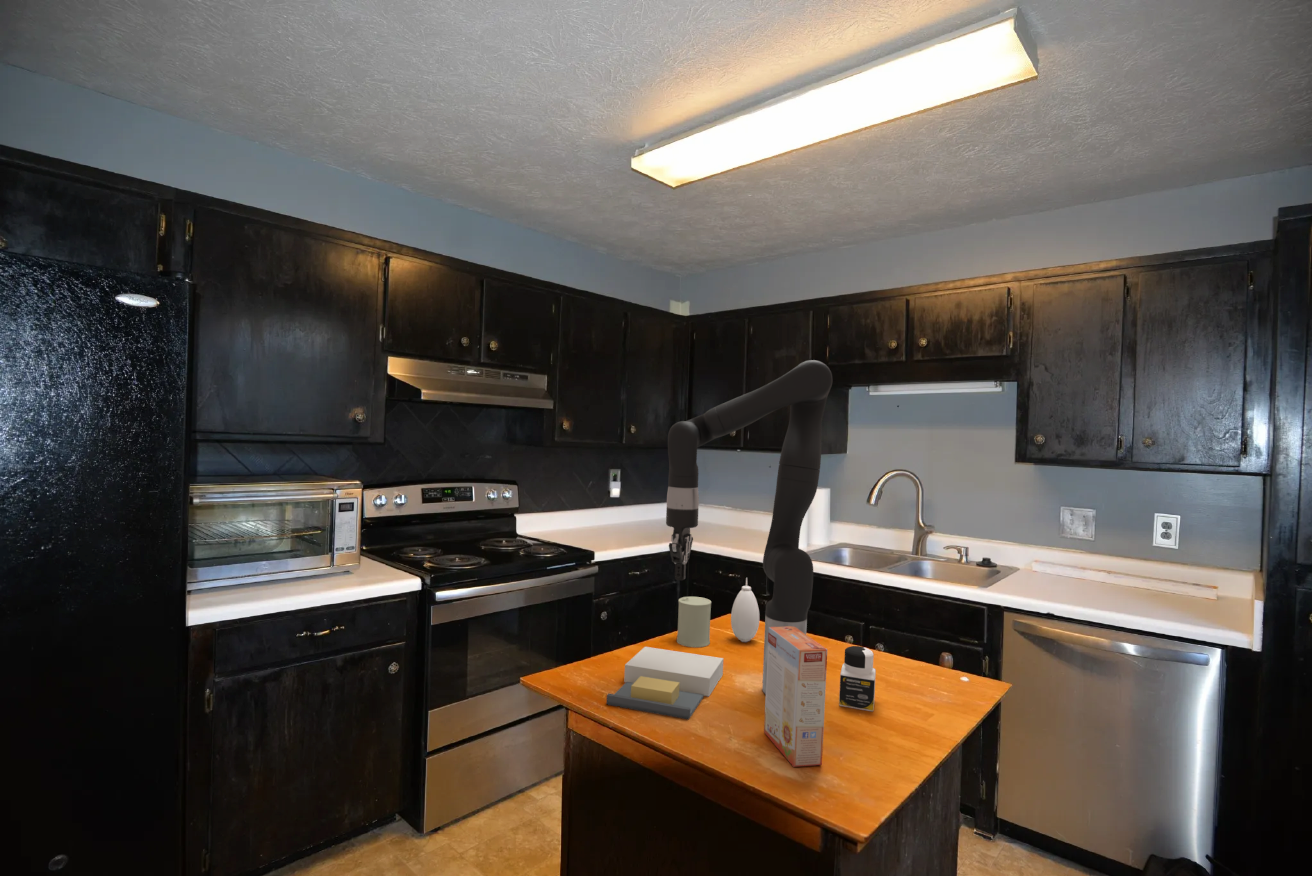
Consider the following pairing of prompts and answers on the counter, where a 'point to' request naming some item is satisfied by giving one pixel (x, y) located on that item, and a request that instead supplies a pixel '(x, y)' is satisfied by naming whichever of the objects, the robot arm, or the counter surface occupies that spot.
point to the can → (694, 622)
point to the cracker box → (795, 695)
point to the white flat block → (676, 669)
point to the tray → (656, 703)
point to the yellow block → (655, 690)
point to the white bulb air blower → (745, 615)
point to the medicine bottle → (857, 679)
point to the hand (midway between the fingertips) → (680, 579)
